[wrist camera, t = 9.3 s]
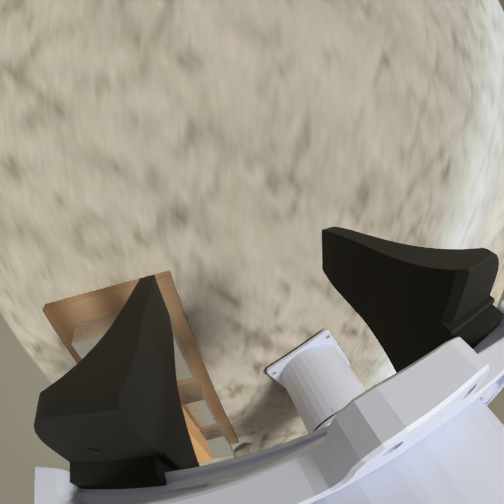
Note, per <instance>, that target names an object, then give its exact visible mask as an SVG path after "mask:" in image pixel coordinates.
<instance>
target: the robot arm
mask: <svg viewBox="0 0 504 504" xmlns="http://www.w3.org/2000/svg"><path fill="white" fill-rule="evenodd" d="M322 259H323V271H324V273H325V274H326V276H327V277H328V279H329V280H330V282H331V283H332V285H333V286H334V287H335V288H336V290H337V291H338V292H339V293H340V294H341V295H342V296H343V297H344V299H345V300H346V301H347V302H348V303H349V304H350V305H351V306H352V307H353V308H354V310H355V311H356V312H357V313H358V314H359V315H360V316H361V317H362V319H363V320H364V321H365V322H366V323H367V325H368V326H369V328H370V329H371V331H372V332H373V333H374V335H375V336H376V338H377V339H378V341H379V343H380V344H381V346H382V347H383V349H384V351H385V352H386V354H387V356H388V358H389V359H390V361H391V363H392V365H393V367H394V369H395V370H396V372H397V373H396V374H394V375H392V376H391V377H389V378H387V379H385V380H383V381H382V382H380V383H378V384H376V385H374V386H372V387H371V388H369V389H368V390H366V389H365V388H364V386H363V385H362V384H361V382H360V381H359V379H358V378H357V377H356V375H355V374H354V372H353V371H352V370H351V368H350V367H349V365H350V363H349V361H348V360H347V358H346V357H345V355H344V354H343V352H342V350H341V349H340V347H339V346H338V344H337V343H336V341H335V340H334V338H333V336H332V335H331V333H330V332H329V330H327V329H325V330H323V331H321V332H320V333H319V334H317V335H316V336H314V337H313V338H312V339H310V340H309V341H307V342H306V343H304V344H303V345H302V346H300V347H299V348H297V349H296V350H294V351H293V352H291V353H290V354H288V355H287V356H285V357H284V358H282V359H281V360H279V361H278V362H276V363H274V364H273V365H271V366H270V367H268V368H267V369H266V372H267V374H268V375H270V376H271V377H272V378H273V379H275V380H276V381H277V382H278V383H280V384H281V385H282V386H283V387H285V388H286V389H287V391H288V393H289V395H290V397H291V399H292V401H293V403H294V405H295V407H296V409H297V411H298V413H299V415H300V417H301V419H302V421H303V423H304V425H305V427H306V429H307V430H308V432H309V434H306V435H304V436H301V437H299V438H296V439H293V440H291V441H288V442H285V443H282V444H280V445H277V446H274V447H271V448H268V449H265V450H261V451H258V452H255V453H252V454H248V455H245V456H241V457H237V458H234V459H230V460H226V461H222V462H218V463H213V464H209V465H204V466H199V463H198V460H197V457H196V454H195V451H194V448H193V445H192V442H191V438H190V435H189V432H188V428H187V425H186V421H185V417H184V413H183V409H182V405H181V401H180V396H179V392H178V386H177V379H176V368H175V355H174V340H173V331H172V326H171V321H170V315H169V312H168V310H167V307H166V305H165V302H164V299H163V297H162V294H161V291H160V289H159V286H158V283H157V281H156V278H155V275H151V276H148V277H144V278H140V280H139V281H138V283H137V284H136V286H135V288H134V290H133V291H132V293H131V295H130V297H129V298H128V300H127V302H126V303H125V305H124V307H123V308H122V310H121V311H120V313H119V314H118V316H117V317H116V319H115V320H114V322H113V324H112V325H111V326H110V328H109V329H108V330H107V332H106V333H105V334H104V336H103V337H102V338H101V339H100V341H99V342H98V343H97V344H96V345H95V346H94V347H93V348H92V349H91V350H90V352H89V353H88V354H87V355H86V356H85V357H84V358H83V359H82V360H81V361H80V362H79V363H78V364H77V365H76V366H74V367H73V368H72V369H71V370H70V371H69V372H68V373H66V374H65V375H64V376H63V377H61V378H60V379H59V380H58V381H56V382H55V383H53V384H52V385H51V386H49V387H48V388H47V389H45V390H44V391H42V392H41V393H40V396H39V401H38V406H37V412H36V418H35V423H34V429H35V432H36V434H37V435H38V437H39V438H40V439H41V440H42V441H43V442H44V443H45V444H46V445H47V446H49V447H50V448H51V449H52V450H54V451H55V452H57V453H58V454H59V455H61V456H62V457H64V458H65V459H66V460H68V461H69V462H70V470H67V469H64V468H59V467H44V466H36V467H35V487H34V488H35V489H34V502H35V503H34V504H504V426H503V424H502V423H501V422H500V421H499V420H498V418H497V417H496V416H495V415H494V414H493V413H492V411H491V410H490V409H489V408H488V407H487V405H488V404H489V403H490V402H491V401H492V400H493V398H494V397H495V396H496V395H497V394H498V393H499V392H500V391H501V389H502V388H503V387H504V300H503V301H502V302H501V303H500V304H499V306H498V307H497V308H496V307H495V306H494V305H493V303H494V298H493V297H491V296H490V292H491V290H492V287H493V284H494V281H495V278H496V275H497V271H498V266H499V261H498V257H497V255H496V254H494V253H493V252H491V251H490V250H488V249H485V248H478V249H463V250H452V249H434V248H424V247H417V246H411V245H405V244H400V243H396V242H392V241H388V240H384V239H380V238H376V237H373V236H369V235H366V234H362V233H359V232H355V231H352V230H348V229H344V228H339V227H331V228H327V229H324V230H322Z"/></svg>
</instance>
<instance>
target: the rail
mask: <svg viewBox="0 0 504 504" xmlns="http://www.w3.org/2000/svg"><path fill="white" fill-rule="evenodd" d="M164 302H165V305H166V307H167V310H168V312H169V309H168V306H167V304H166V301H164ZM118 314H119V313H117V314H113V315H109V316H105V317H100V318H96V319H92V320H88V321H84V322H80V323H77V324H76V328H75V331H74V335H73V339H72V343H71V344H72V346H73V347H74V349H75V350H76V352H77V353H78V355H79V356H80V357H81V359H83V358H84V357H85V356H86V355H87V354H88V353H89V352H90V350H91V349H92V348H93V347H94V346H95V345H96V344H97V343H98V342H99V341H100V339H101V338H102V337H103V336H104V334H105V333H106V332H107V330H108V329H109V328H110V326H111V325H112V324H113V322H114V320H115V319H116V317H117V316H118ZM169 315H170V321H171V326H172V331H173V340H174V355H175V368H176V379H177V381H179V380H184V379H188V378H192V373H191V368H190V362H189V357H188V355H187V352H186V350H185V348H184V345H183V343H182V341H181V338H180V336H179V334H178V331H177V329H176V326H175V324H174V322H173V319H172V317H171V314H170V312H169ZM178 392H179V396H180V401H181V405H182V406H183V408H184V409H185V411H186V412H187V414H188V415H189V417H190V418H191V419H192V421H193V422H194V424H195V425H196V427H197V428H200V432H201V434H202V435H203V436H204V438H205V439H206V440H207V442H208V444H209V448H210V452H211V455H212V459H215V458H219V457H223V456H227V455H231V454H234V452H233V449H232V446H231V443H230V440H229V438H228V436H227V434H226V432H225V430H224V428H223V427H222V425H221V423H220V421H219V420H217V421H216V420H215V416H214V413H213V409H212V405H211V403H210V401H209V399H208V397H207V395H206V393H205V391H204V389H203V387H202V385H201V383H200V381H199V380H198V381H194V382H190V383H186V384H182V385H178Z"/></svg>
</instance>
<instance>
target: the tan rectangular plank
mask: <svg viewBox="0 0 504 504" xmlns="http://www.w3.org/2000/svg"><path fill="white" fill-rule="evenodd" d="M182 409H183V413H184V417H185V421H186V425H187V428H188V432H189V435H190V438H191V442H192V445H193V448H194V451H195V454H196V457H197V460H198V463H203V462H207V461H212V460H213V459H212V455H211V452H210V448H209V444H208V442H207V440H206V439H205V438H204V436H203V435H202V434H201V432H200V428H197V427H196V425H195V424H194V422H193V421H192V419H191V418H190V417H189V415H188V414H187V412H186V411H185V409H184V408H183V406H182Z"/></svg>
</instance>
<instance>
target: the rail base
mask: <svg viewBox="0 0 504 504" xmlns="http://www.w3.org/2000/svg"><path fill="white" fill-rule="evenodd" d="M155 278H156V281H157V283H158V286H159V289H160V291H161V294H162V297H163V299H164V301H166V304H167V306H168V309H169V312H170V314H171V317H172V319H173V322H174V324H175V326H176V329H177V331H178V334H179V336H180V338H181V341H182V343H183V345H184V348H185V350H186V352H187V355H188V357H189V362H190V368H191V373H192V378H188V379H184V380H179V381H177V386H178V385H182V384H186V383H190V382H194V381H198V380H199V381H200V383H201V385H202V387H203V389H204V391H205V393H206V395H207V397H208V399H209V401H210V403H211V405H212V409H213V413H214V416H215V420H216V421H217V420H219V421H220V423H221V425H222V427H223V428H224V430H225V432H226V434H227V436H228V438H229V440H230V443H231V444H234V443H238V439H237V437H236V435H235V432H234V430H233V428H232V426H231V424H230V422H229V420H228V418H227V416H226V413H225V411H224V409H223V407H222V405H221V402H220V400H219V398H218V396H217V393H216V391H215V389H214V387H213V384H212V382H211V380H210V377H209V375H208V372H207V370H206V368H205V365H204V363H203V360H202V358H201V355H200V353H199V350H198V348H197V345H196V343H195V340H194V337H193V335H192V332H191V330H190V327H189V324H188V322H187V319H186V316H185V313H184V311H183V308H182V305H181V302H180V299H179V296H178V294H177V291H176V288H175V285H174V282H173V279H172V276H171V273H170V271H167V272H163V273H159V274H155ZM139 280H140V279H137V280H133V281H130V282H126V283H122V284H119V285H115V286H111V287H107V288H104V289H100V290H96V291H93V292H89V293H85V294H82V295H78V296H74V297H71V298H67V299H63V300H60V301H56V302H53V303H49V304H45V306H44V308H43V312H44V314H45V315H46V317H47V319H48V320H49V322H50V323H51V325H52V327H53V328H54V330H55V331H56V333H57V334H58V336H59V338H60V339H61V341H62V342H63V343H64V345H65V346H66V348H67V349H68V351H69V352H70V354H71V355H72V356H73V358H74V359H75V361H76V362H77V363H79V362H80V361H81V360H82V359H81V357H80V356H79V355H78V353H77V352H76V350H75V349H74V347H73V346H72V344H71V343H72V339H73V335H74V331H75V328H76V324H77V323H80V322H84V321H88V320H92V319H96V318H100V317H105V316H109V315H113V314H117V313H120V311H121V310H122V308H123V307H124V305H125V303H126V302H127V300H128V298H129V297H130V295H131V293H132V291H133V290H134V288H135V286H136V284H137V283H138V281H139Z"/></svg>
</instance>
